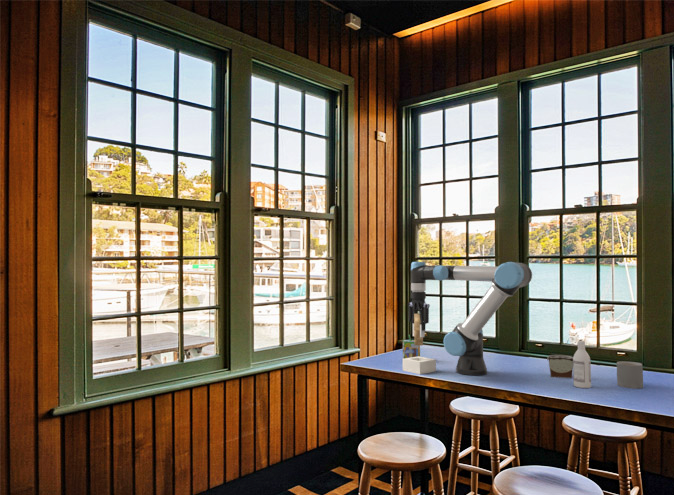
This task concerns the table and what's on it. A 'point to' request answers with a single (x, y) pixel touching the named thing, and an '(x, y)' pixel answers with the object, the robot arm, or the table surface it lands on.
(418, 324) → the oak peg
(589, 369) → the bath foam
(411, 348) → the juice carton
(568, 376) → the food container
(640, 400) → the table surface
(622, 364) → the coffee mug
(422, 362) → the socket block
